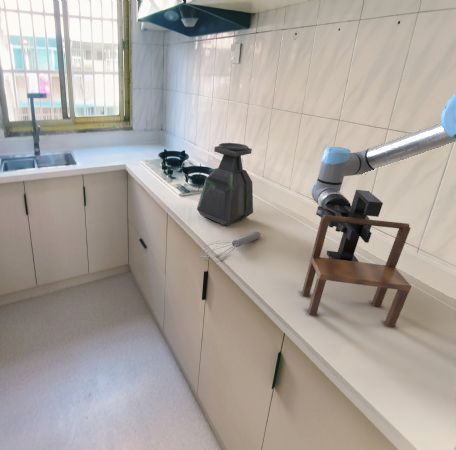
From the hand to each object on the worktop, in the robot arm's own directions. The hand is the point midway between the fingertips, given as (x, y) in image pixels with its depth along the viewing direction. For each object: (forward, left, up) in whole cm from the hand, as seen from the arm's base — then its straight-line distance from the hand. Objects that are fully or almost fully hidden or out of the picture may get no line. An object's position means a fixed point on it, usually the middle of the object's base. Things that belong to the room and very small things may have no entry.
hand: (360, 236), depth 84 cm
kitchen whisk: (+33, -14, -19) cm, 41 cm away
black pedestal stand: (+1, -3, -10) cm, 11 cm away
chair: (-1, +4, -19) cm, 19 cm away
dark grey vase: (+43, -41, -19) cm, 62 cm away
